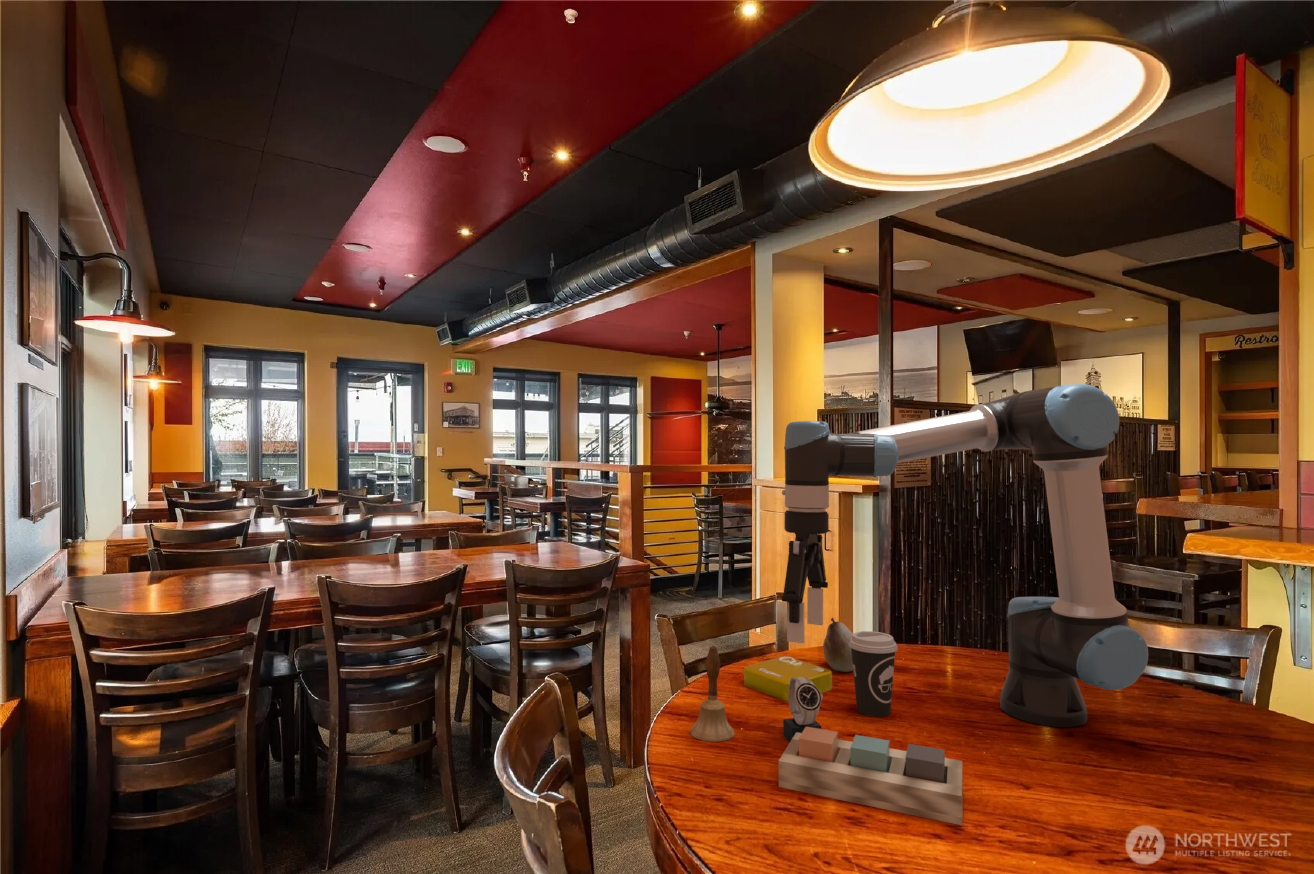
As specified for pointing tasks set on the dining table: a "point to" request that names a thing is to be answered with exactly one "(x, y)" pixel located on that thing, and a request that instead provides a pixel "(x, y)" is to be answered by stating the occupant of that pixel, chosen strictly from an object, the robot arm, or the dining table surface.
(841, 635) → the fruit
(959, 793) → the button panel
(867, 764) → the teal button
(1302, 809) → the dining table surface
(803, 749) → the terracotta button
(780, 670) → the element tile
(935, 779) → the charcoal button
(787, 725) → the watch
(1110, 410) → the robot arm
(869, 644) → the coffee cup
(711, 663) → the hand bell
